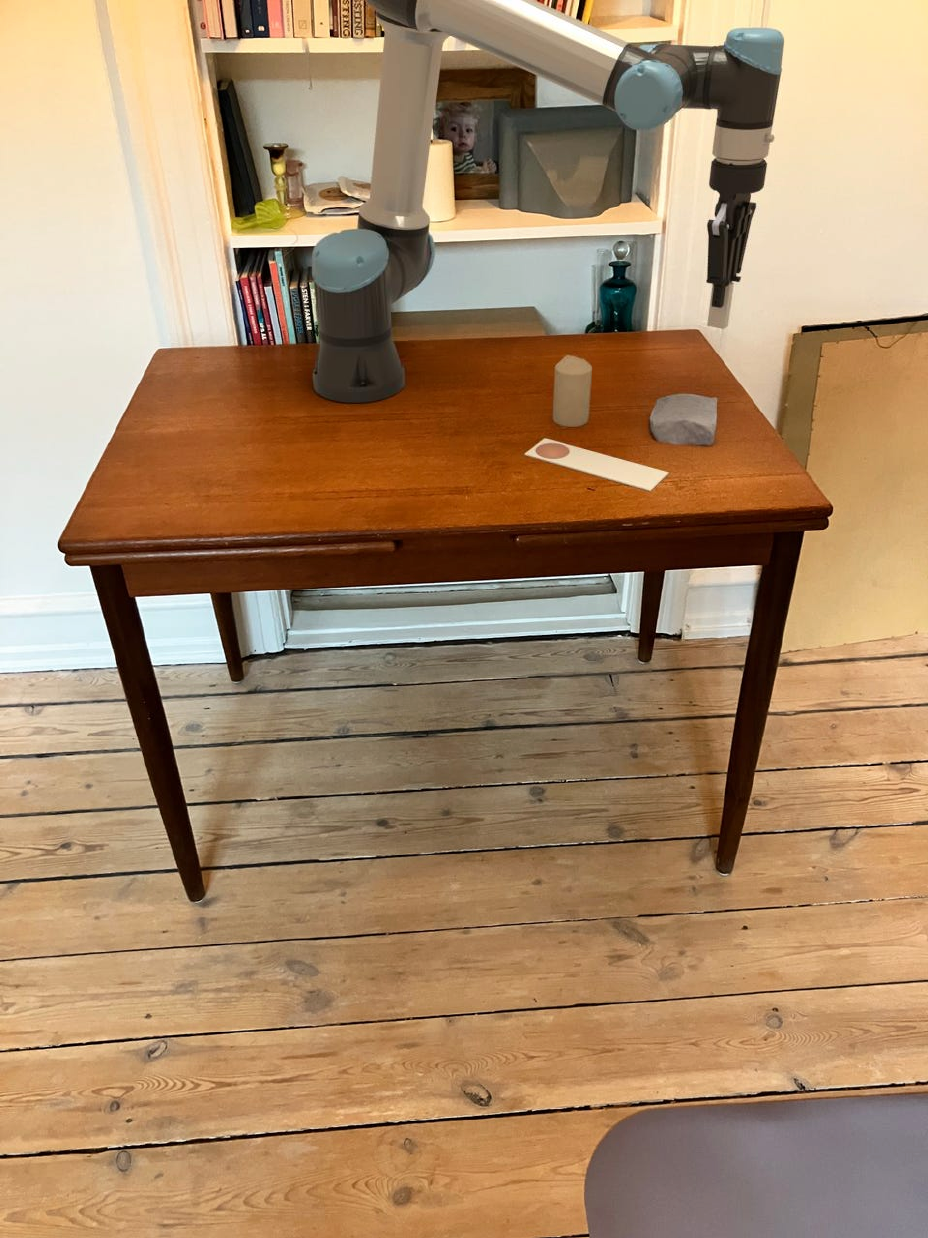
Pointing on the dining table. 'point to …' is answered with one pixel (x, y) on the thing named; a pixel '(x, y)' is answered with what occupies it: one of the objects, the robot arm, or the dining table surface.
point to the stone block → (684, 419)
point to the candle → (572, 391)
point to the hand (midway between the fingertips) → (717, 325)
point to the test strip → (597, 464)
